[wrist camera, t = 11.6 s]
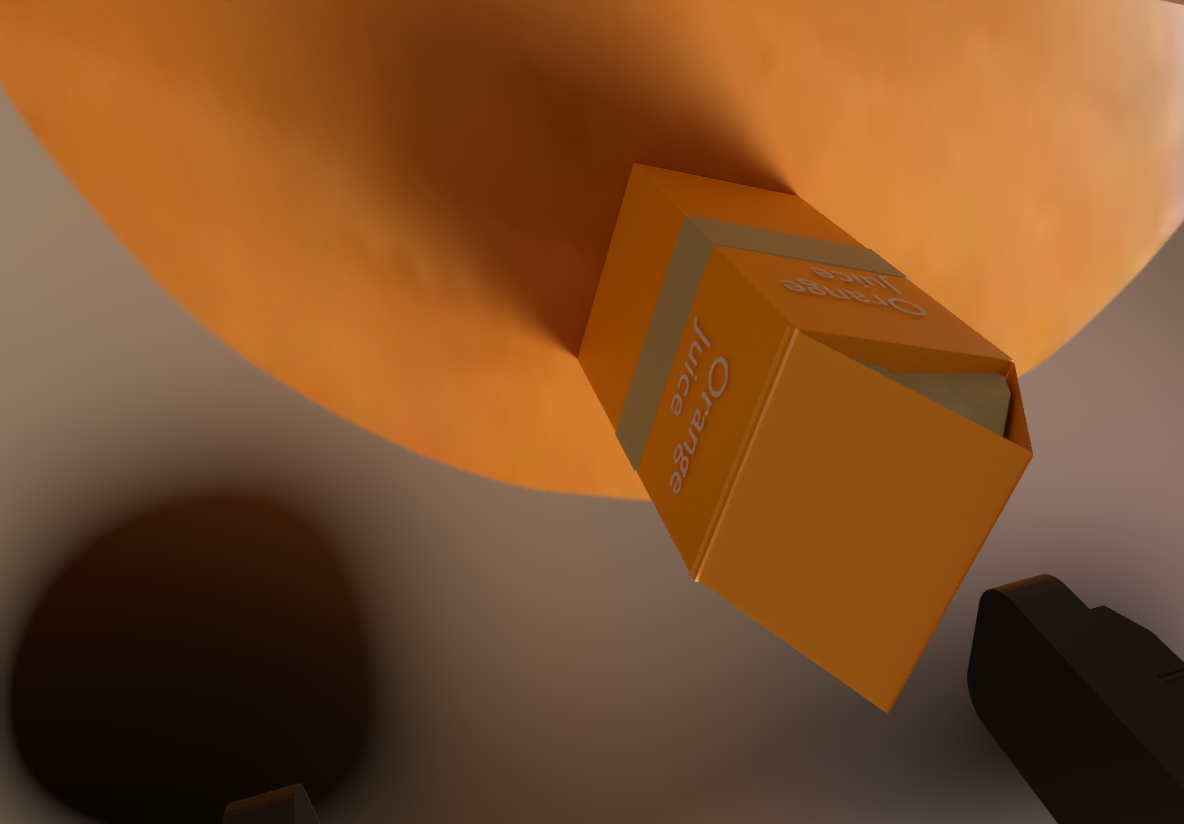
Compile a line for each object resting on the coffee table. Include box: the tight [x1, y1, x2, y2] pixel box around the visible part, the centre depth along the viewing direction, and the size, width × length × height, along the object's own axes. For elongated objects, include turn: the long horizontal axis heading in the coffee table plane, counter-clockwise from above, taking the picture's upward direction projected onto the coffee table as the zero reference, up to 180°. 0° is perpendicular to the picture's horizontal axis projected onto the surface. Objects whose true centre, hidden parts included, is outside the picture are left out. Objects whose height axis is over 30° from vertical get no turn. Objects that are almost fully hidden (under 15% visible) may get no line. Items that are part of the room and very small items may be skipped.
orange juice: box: [577, 162, 1033, 715], centre depth 32 cm, size 8×9×20 cm
